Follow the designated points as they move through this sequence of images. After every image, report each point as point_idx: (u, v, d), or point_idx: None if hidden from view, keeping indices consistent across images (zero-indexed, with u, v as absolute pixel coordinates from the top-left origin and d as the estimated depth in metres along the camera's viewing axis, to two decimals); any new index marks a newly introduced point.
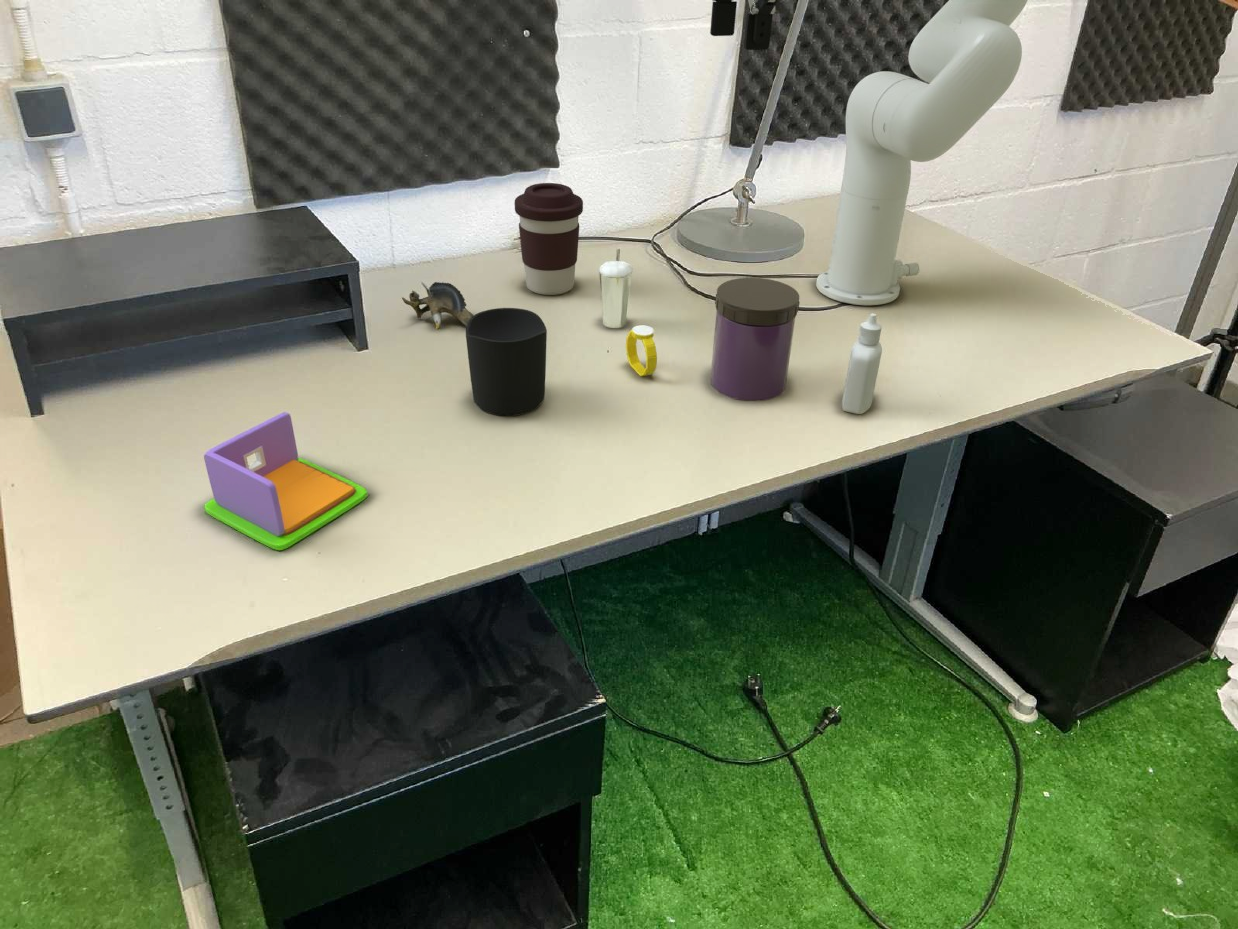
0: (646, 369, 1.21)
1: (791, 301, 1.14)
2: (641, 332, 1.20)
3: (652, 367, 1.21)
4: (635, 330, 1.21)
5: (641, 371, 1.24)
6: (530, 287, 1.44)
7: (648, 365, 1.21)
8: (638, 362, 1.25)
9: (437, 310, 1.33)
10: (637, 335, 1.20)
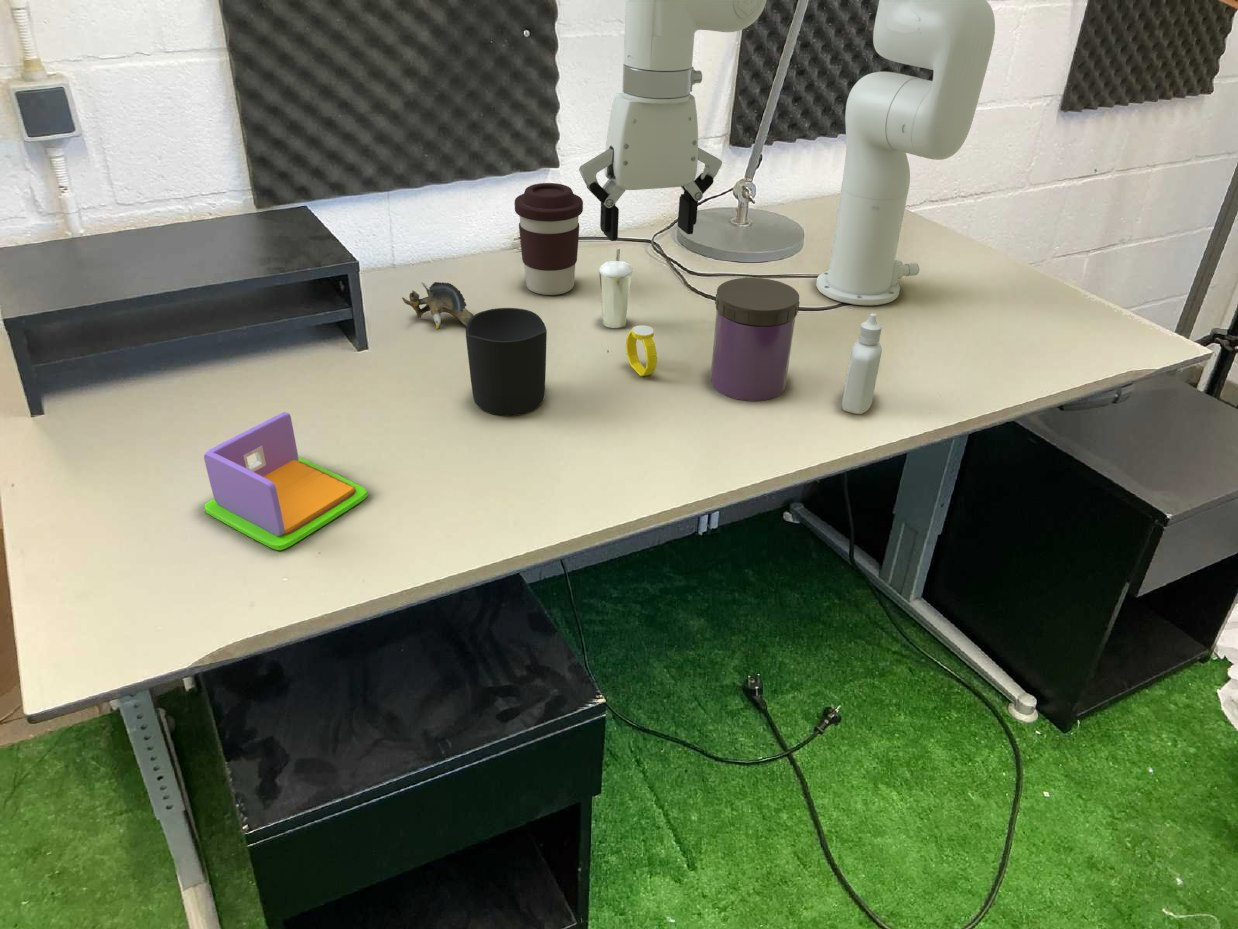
0: (646, 369, 1.21)
1: (791, 301, 1.14)
2: (641, 332, 1.20)
3: (652, 367, 1.21)
4: (635, 330, 1.21)
5: (641, 371, 1.24)
6: (530, 287, 1.44)
7: (648, 365, 1.21)
8: (638, 362, 1.25)
9: (437, 310, 1.33)
10: (637, 335, 1.20)
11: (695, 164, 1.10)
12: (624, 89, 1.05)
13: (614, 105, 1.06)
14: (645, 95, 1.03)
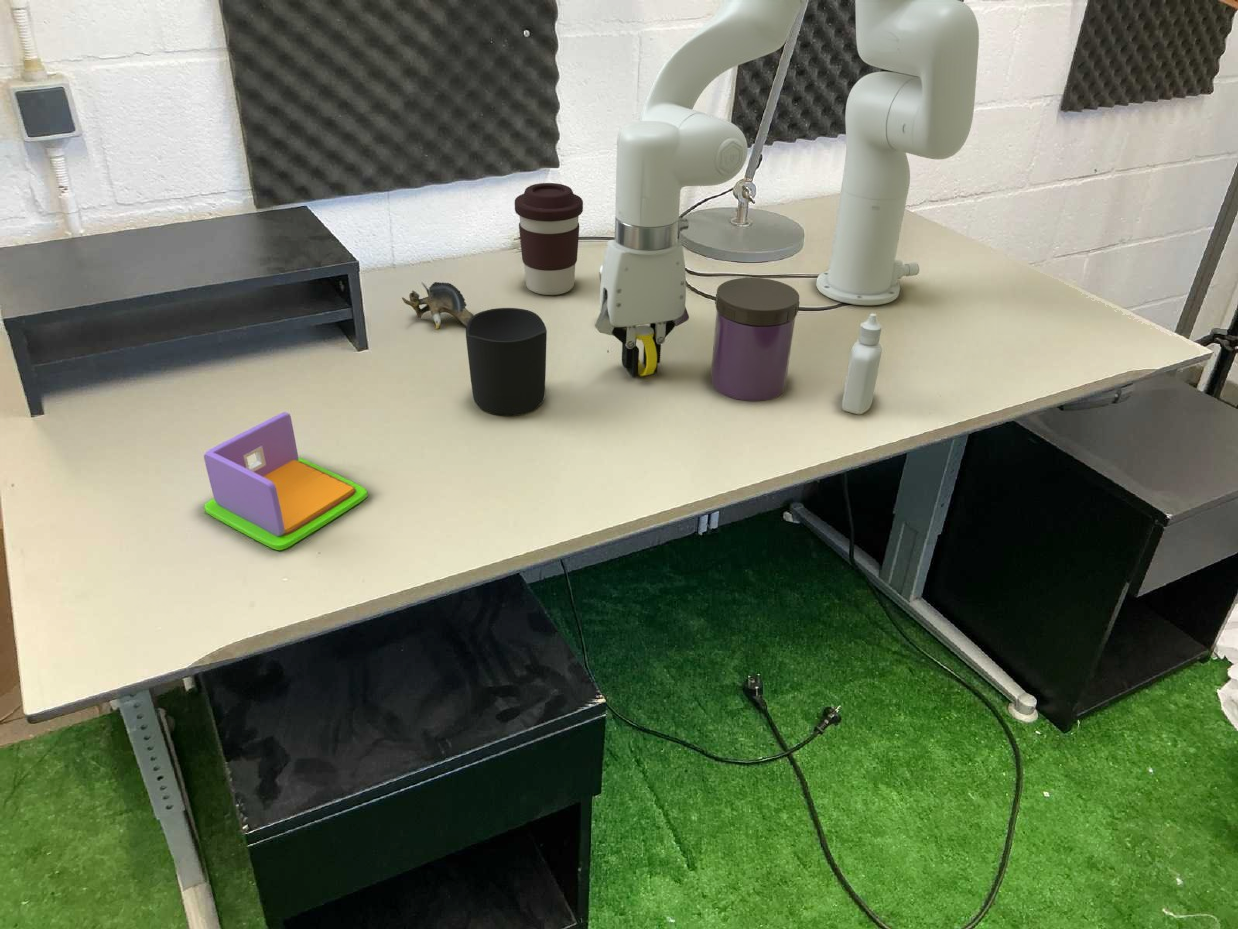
0: (646, 369, 1.21)
1: (791, 301, 1.14)
2: (641, 332, 1.20)
3: (652, 367, 1.21)
4: None
5: (641, 371, 1.24)
6: (530, 287, 1.44)
7: (648, 365, 1.21)
8: None
9: (437, 310, 1.33)
10: (637, 335, 1.20)
11: (683, 301, 1.19)
12: (616, 239, 1.13)
13: (607, 253, 1.15)
14: (635, 247, 1.12)
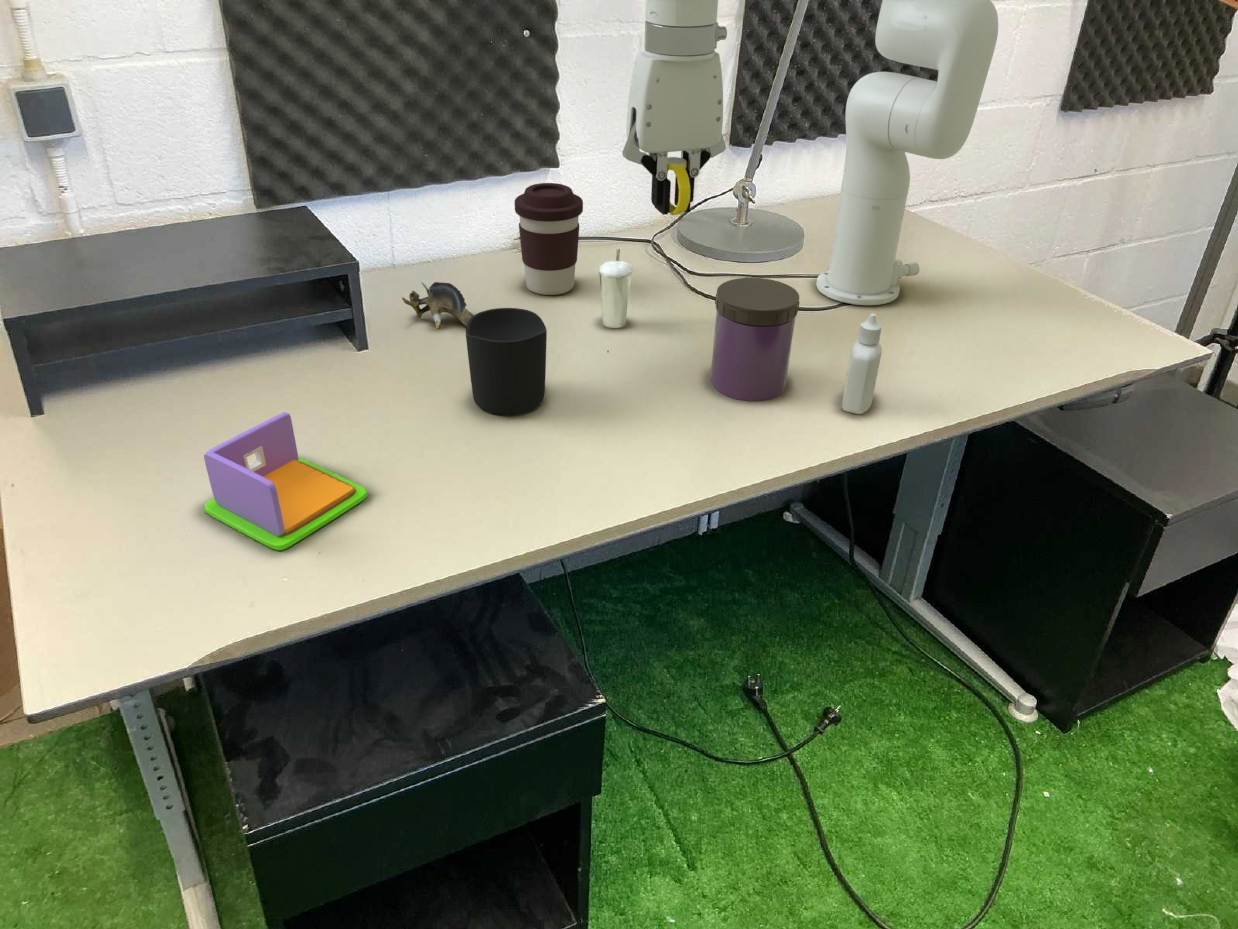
0: (678, 204, 1.09)
1: (791, 301, 1.14)
2: (673, 162, 1.09)
3: (685, 202, 1.09)
4: None
5: (672, 210, 1.12)
6: (530, 287, 1.44)
7: (680, 199, 1.09)
8: None
9: (437, 310, 1.33)
10: (668, 164, 1.08)
11: (720, 125, 1.07)
12: (646, 47, 1.02)
13: (636, 64, 1.03)
14: (668, 52, 1.00)
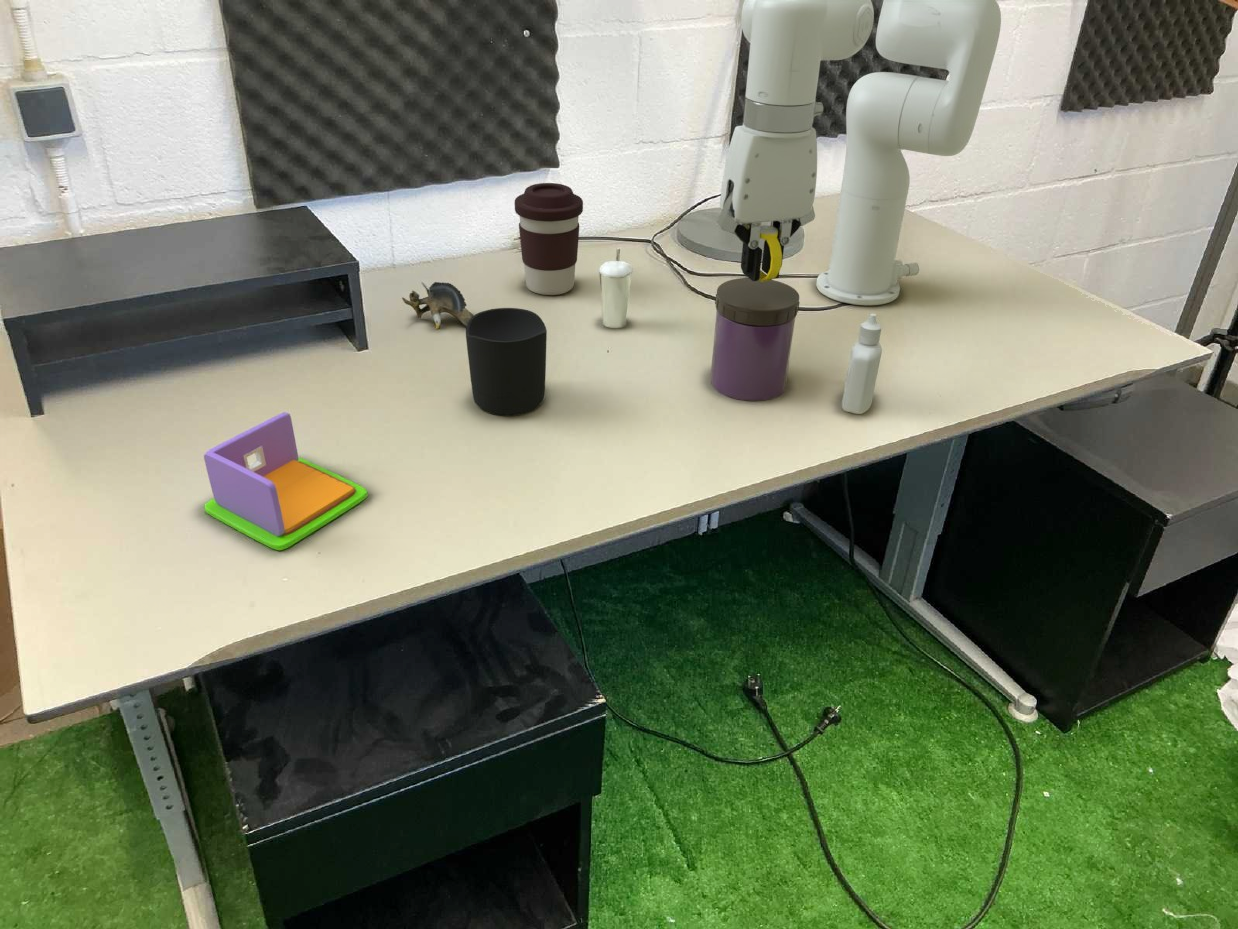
0: (770, 272, 1.11)
1: (791, 301, 1.14)
2: (765, 231, 1.11)
3: (776, 270, 1.11)
4: None
5: (761, 276, 1.14)
6: (530, 287, 1.44)
7: (772, 267, 1.11)
8: None
9: (437, 310, 1.33)
10: (761, 234, 1.10)
11: (813, 196, 1.09)
12: (746, 123, 1.04)
13: (735, 139, 1.05)
14: (769, 130, 1.02)
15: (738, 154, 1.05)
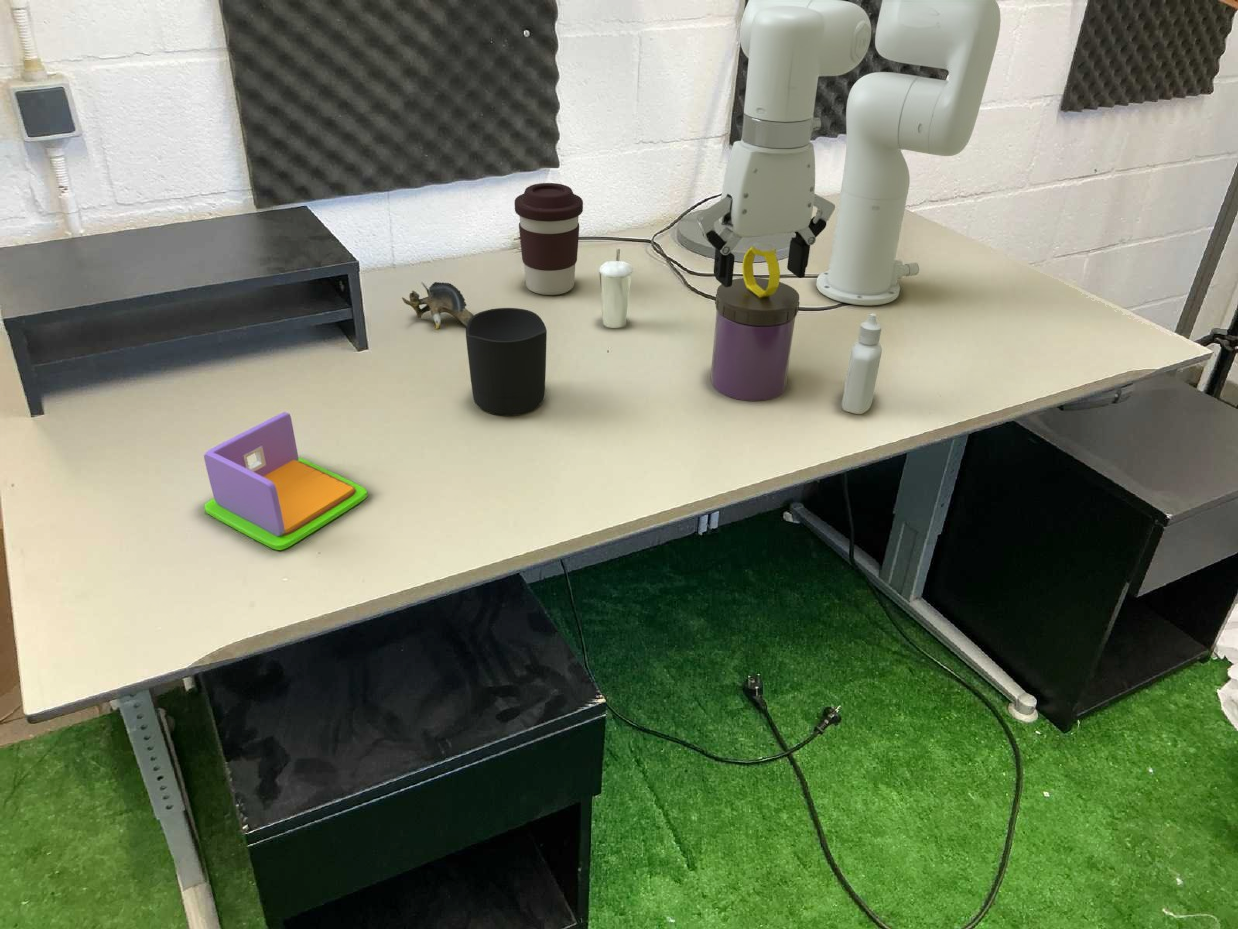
0: (768, 288, 1.13)
1: (791, 301, 1.14)
2: (764, 248, 1.12)
3: (774, 286, 1.13)
4: (756, 246, 1.12)
5: (760, 292, 1.15)
6: (530, 287, 1.44)
7: (770, 284, 1.12)
8: (755, 284, 1.17)
9: (437, 310, 1.33)
10: (759, 251, 1.12)
11: (811, 210, 1.10)
12: (744, 138, 1.05)
13: (733, 154, 1.06)
14: (768, 145, 1.03)
15: (737, 169, 1.06)
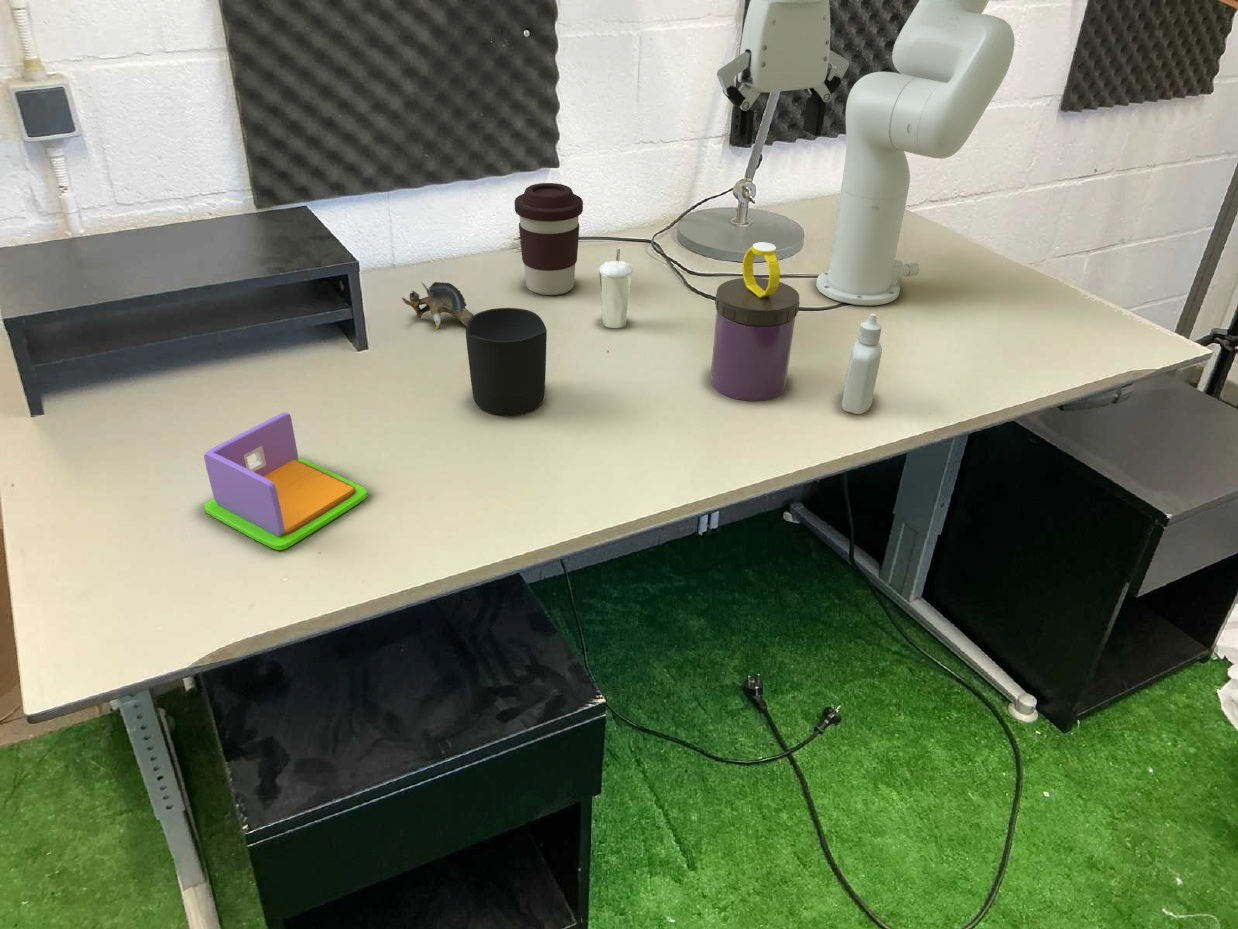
0: (768, 288, 1.13)
1: (791, 301, 1.14)
2: (764, 248, 1.12)
3: (774, 286, 1.13)
4: (756, 246, 1.12)
5: (760, 292, 1.15)
6: (530, 287, 1.44)
7: (770, 284, 1.12)
8: (755, 284, 1.17)
9: (437, 310, 1.33)
10: (759, 251, 1.12)
11: (826, 64, 1.14)
12: None
13: (751, 7, 1.09)
14: None
15: (755, 22, 1.09)
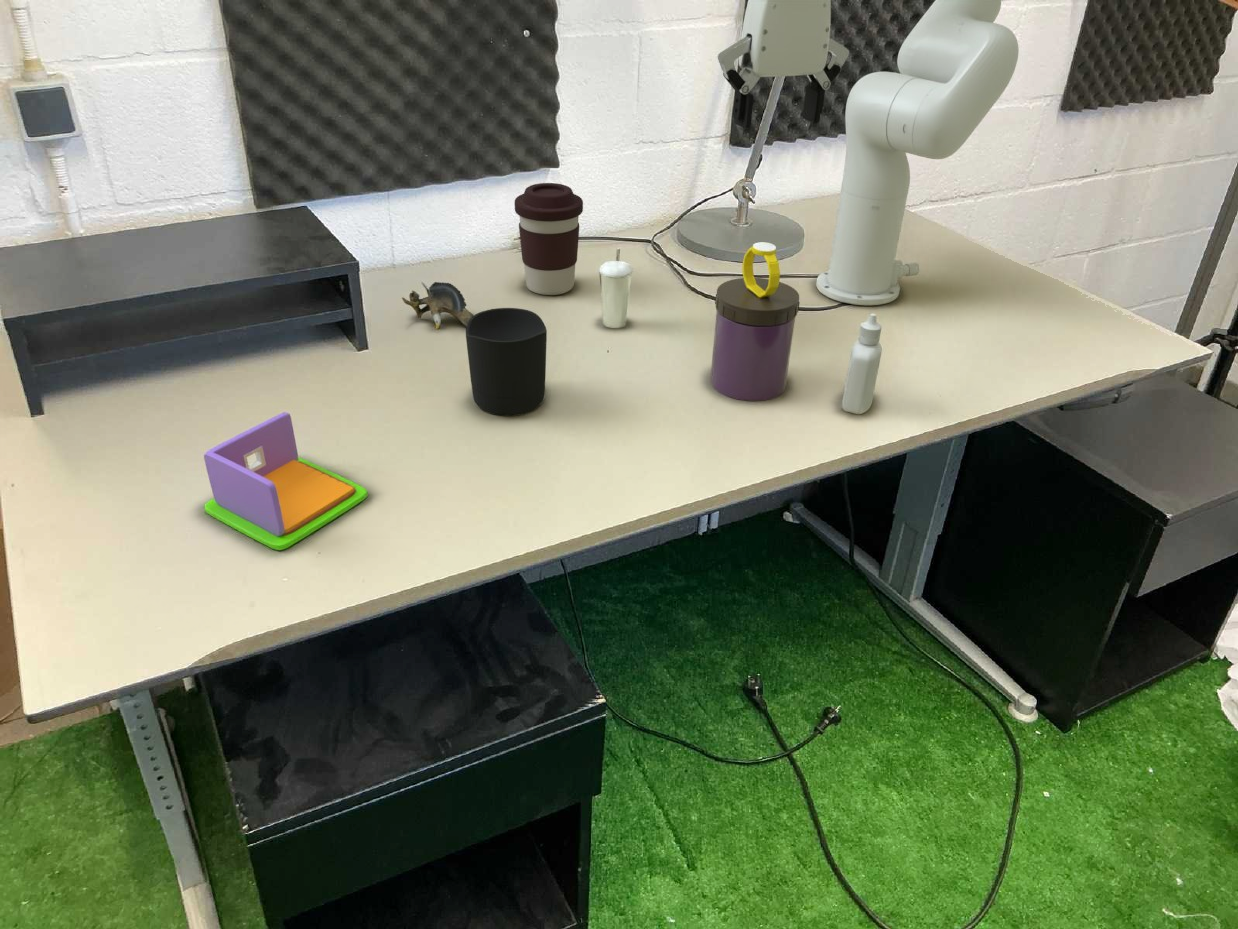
0: (768, 288, 1.13)
1: (791, 301, 1.14)
2: (764, 248, 1.12)
3: (774, 286, 1.13)
4: (756, 246, 1.12)
5: (760, 292, 1.15)
6: (530, 287, 1.44)
7: (770, 284, 1.12)
8: (755, 284, 1.17)
9: (437, 310, 1.33)
10: (759, 251, 1.12)
11: (826, 51, 1.16)
12: None
13: None
14: None
15: (756, 6, 1.11)
